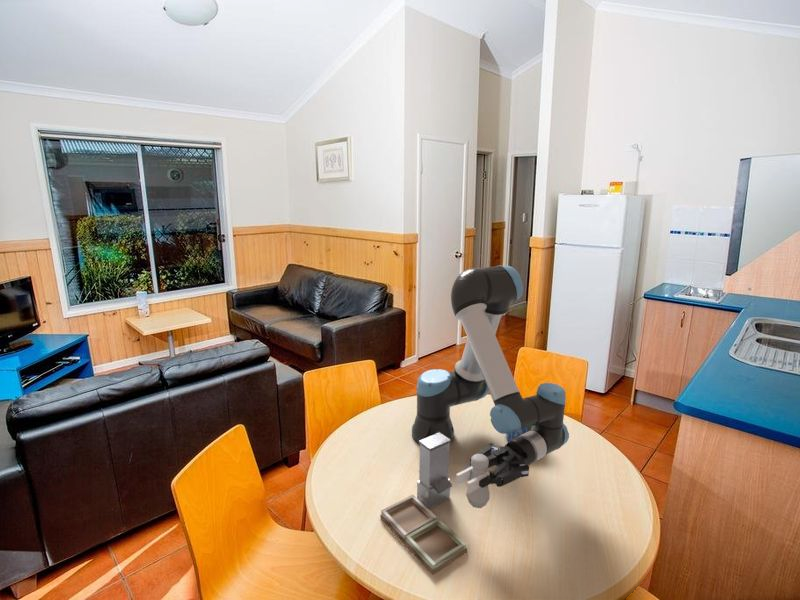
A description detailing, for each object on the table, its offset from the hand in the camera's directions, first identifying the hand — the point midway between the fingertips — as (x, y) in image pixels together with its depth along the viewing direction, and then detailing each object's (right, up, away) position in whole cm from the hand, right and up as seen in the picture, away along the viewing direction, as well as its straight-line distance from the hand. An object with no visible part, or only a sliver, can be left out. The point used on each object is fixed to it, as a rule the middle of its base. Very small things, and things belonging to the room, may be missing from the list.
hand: (462, 483), depth 105 cm
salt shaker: (+4, -7, +5) cm, 10 cm away
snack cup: (+26, -6, +50) cm, 56 cm away
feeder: (-5, -13, +20) cm, 24 cm away
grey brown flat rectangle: (-9, -16, +8) cm, 20 cm away
